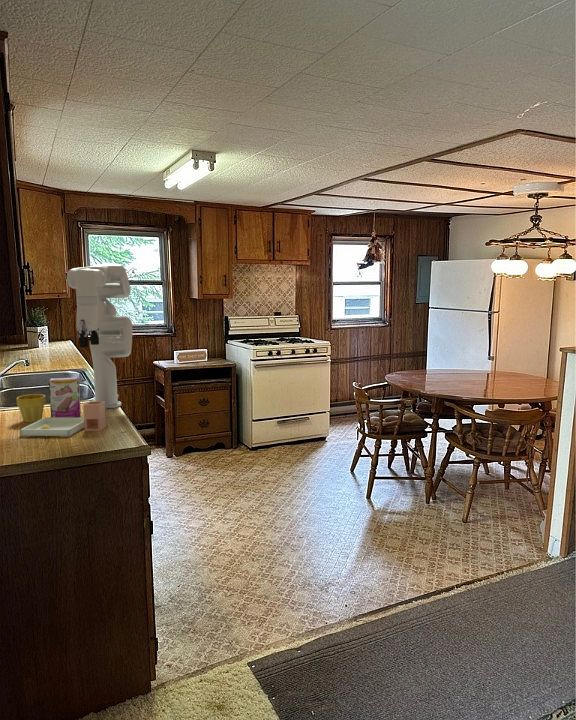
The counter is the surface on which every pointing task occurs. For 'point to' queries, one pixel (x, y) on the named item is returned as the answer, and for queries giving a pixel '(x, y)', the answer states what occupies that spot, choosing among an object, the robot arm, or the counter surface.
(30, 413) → the plant pot
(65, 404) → the candy bar box
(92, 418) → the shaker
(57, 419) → the tray
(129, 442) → the counter surface
